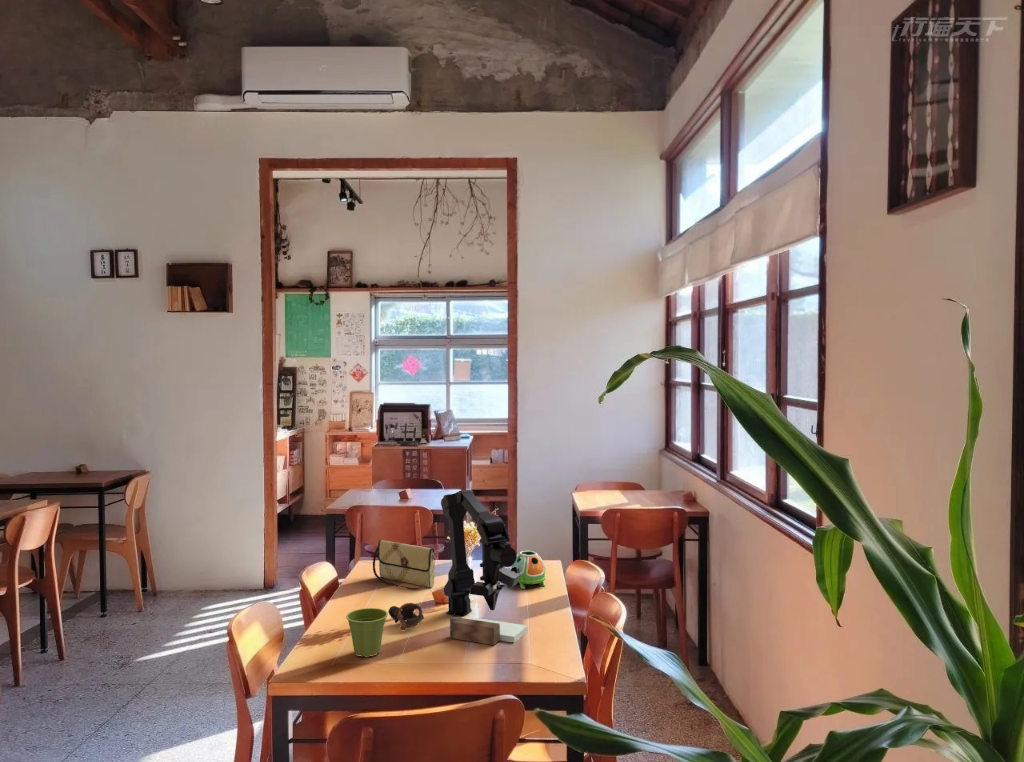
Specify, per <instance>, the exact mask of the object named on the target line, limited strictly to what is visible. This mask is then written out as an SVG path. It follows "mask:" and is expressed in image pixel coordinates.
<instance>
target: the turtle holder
mask: <svg viewBox="0 0 1024 762" xmlns="http://www.w3.org/2000/svg"><path fill="white" fill-rule="evenodd" d="M516 554H517V559H516V561H515V563H514V564H513V565H512V566H511V569H512V568H513V567H514V566H516V567H518V568H519V572H520V578H519V579H518V581H517V584H518V583H519V587H520V589H522V590H525V589H526V586H525V585H535V584H540V586H541V587H546V583H545V582H544V581H546V565H545V563H544V561H543V559H542V557H541V556H540V555H539V554H538V553H537V552H535V551H534V550H533V551H532V550H523V551H520V552H519V553H516Z"/></svg>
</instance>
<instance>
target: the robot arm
mask: <svg viewBox="0 0 1024 762" xmlns="http://www.w3.org/2000/svg"><path fill="white" fill-rule="evenodd" d="M440 506H441V509H442V514H443V515H444V516H445V518H446V520H447V521H448V530H449V540H450V553H451V566H450V569H449V570H448V573H447V575H448V576H447V578H448V579H447V581H446V583H445V585H444V587H443V593H444V594H443V595H444V596H446V597H448V600H447V601H448V611H446V612H445V614H446V615H451V616H455V617H456V616H458V617H464V616H466V615H468V614H469V613H470V612H472V611H473V610H472V608H471V598H470V595H474V596H481V597H483V598H484V600H485V602H486V604H487V606H488V609H489V610H490V611H495V609H496V606H497V601H498V598H499V594H500V593H501V591H502V590H503V589H504V588H505V587H506V586H507V587H508V588H513V587H514V586H516V585H517V584H518V582H517V581H518V579H519V578H520V572H519V568H518V567H516V566H514V567H513V568H512V565H513V564H514V563H515V561H516V559H517V554H518V553H517V552H516V550H515V549H514V548H513V547H512V545H511V543H510V540H511V539H510V534H509V532H508V530H507V528H506V525H505V523H504V521H503V519H502V518H501V517H500V516H498V515H497V514H495V513H492V512H489V511H488V509H487V508H486V507H485V506H484V505H483V504H482V503H481V501H480V500H479V499H478V498H477V497H476V496H475V494H474V491H473V490H472V489H463V490H462V489H461V490H458V491H456V492H455V493H451V494H450V493H449V494H445V495H443V498H442V499H441V500H440ZM467 513H468V514H469V516H470V517H471V518H472V519H473V520H474V522H475V524H476V531H477V533H478V535H479V536H480V539H479V543H481V545H482V546H481V551H482V553H481V554H482V555H481V556H482V557H481V559H482V560H481V561H482V562H480V563H479V568H482V575H481V576H479V581H475V576H474V570H473V568H471V567H470V565H469V564H468V561H467V550H466V549H467V548H466V539H465V528H464V527H465V525H464V519H465V517H466V515H467ZM510 567H511V568H510Z"/></svg>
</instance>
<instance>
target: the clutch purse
mask: <svg viewBox="0 0 1024 762" xmlns="http://www.w3.org/2000/svg"><path fill="white" fill-rule="evenodd" d="M377 543H378V544H377V547H376V549H375V551H374V553H373V557H372V558H373V559H372V570H373V574H374V576H375V578H376V579H378V580H379V581H381V582H383V583H384V584H387V585H391V586H394V585H396V586H395V587H397V586H401V587H404V586H402V585H398V584H396V583H393V582H389V581H387V580H385V579H388V580H393V581H398V582H402V583H407V584H412V585H417V586H419V587H409V586H405V587H406V588H407V589H406V588H405V589H406V590H418V589H420V588H421V587H427V588H430V589H432V588H434V585H435V565H436V559H435V554H434V553H435V549H434V548H432V547H431V548H430V547H425V546H419V545H413V544H407V543H401V542H396V541H389V540H385V539H384V540H383V539H380V540H379V541H378V542H377ZM377 558H378V562H379V564H378V566H379V575H378V574H377V571H376V559H377ZM382 577H383V578H382ZM401 587H400V588H401Z"/></svg>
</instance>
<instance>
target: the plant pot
mask: <svg viewBox="0 0 1024 762" xmlns="http://www.w3.org/2000/svg"><path fill="white" fill-rule="evenodd" d="M388 615H389V612H388V611H387V610H385V609H381V608H377V607H370V608H368V607H365V608H359V609H354V610H352V611H350V612H348V613H347V614H345V619H346V620H347V621H348V625H349V629H350V634H351V635H350V636H351V642H352V647H353V651H354V652H353V653H354V655H355V654H357V655H361V657H363V656H370V655H374V654H376V653H378V652H379V651H380V652H381V648H382V640H383V634H384V633H383V632H384V628H385V625H386V618H387V617H388ZM380 652H379V653H380ZM379 653H378V654H379Z"/></svg>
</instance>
